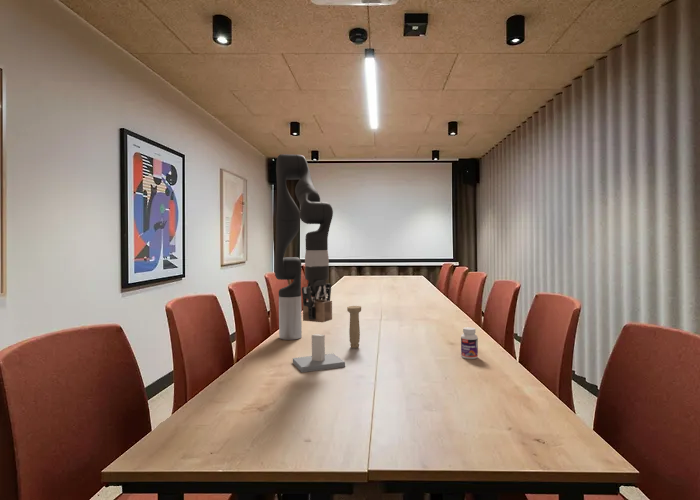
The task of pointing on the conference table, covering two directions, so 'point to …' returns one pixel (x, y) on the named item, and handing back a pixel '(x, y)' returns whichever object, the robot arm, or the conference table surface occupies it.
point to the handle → (354, 325)
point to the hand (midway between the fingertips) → (317, 317)
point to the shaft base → (317, 364)
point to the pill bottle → (469, 343)
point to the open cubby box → (319, 311)
